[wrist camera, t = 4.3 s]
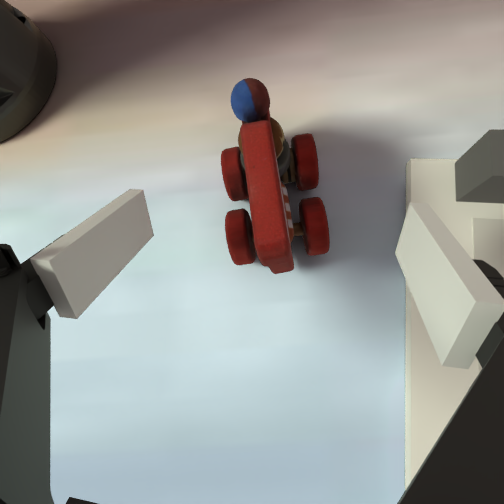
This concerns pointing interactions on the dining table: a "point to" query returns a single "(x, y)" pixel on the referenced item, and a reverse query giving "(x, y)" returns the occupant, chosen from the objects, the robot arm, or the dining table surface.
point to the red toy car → (269, 186)
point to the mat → (417, 338)
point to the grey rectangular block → (482, 170)
